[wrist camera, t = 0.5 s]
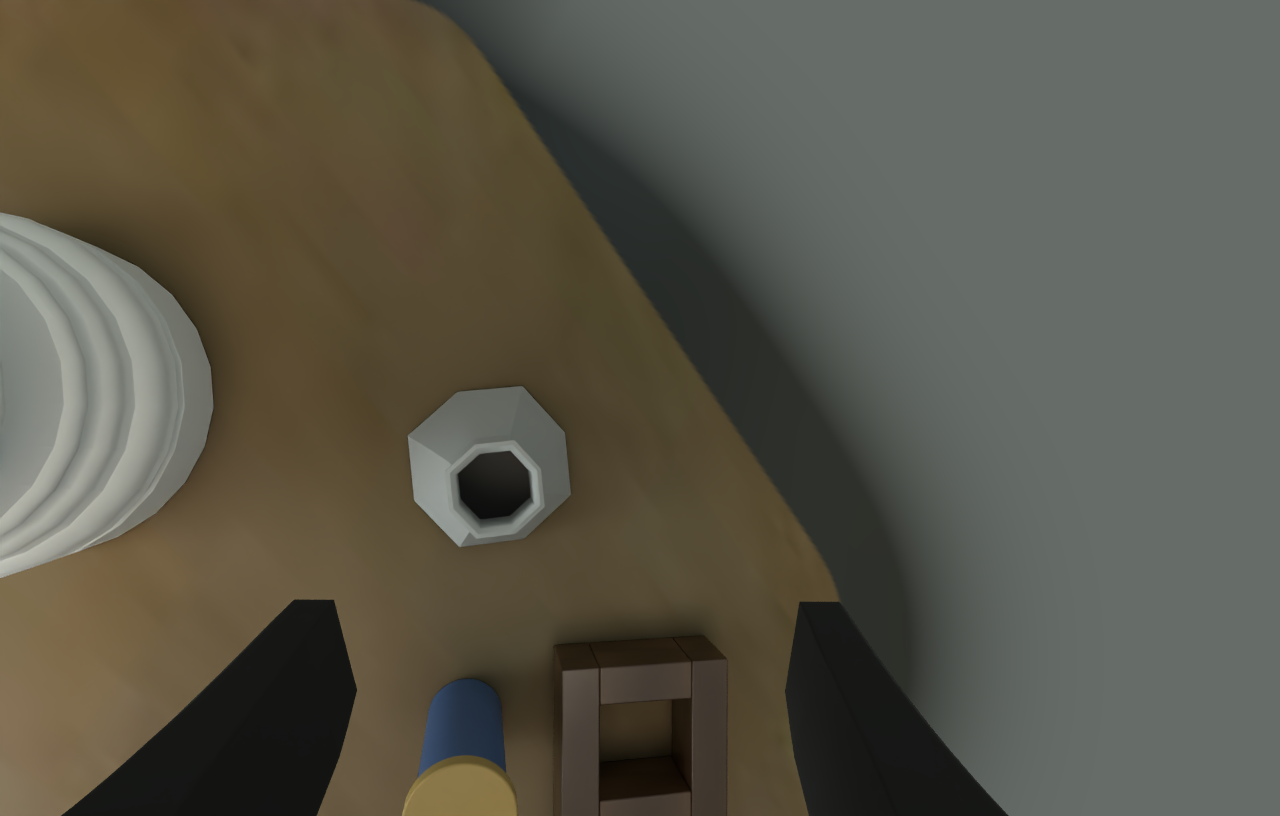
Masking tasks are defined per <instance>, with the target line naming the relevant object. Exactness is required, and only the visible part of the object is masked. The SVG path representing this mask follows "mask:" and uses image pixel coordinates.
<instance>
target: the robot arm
mask: <svg viewBox="0 0 1280 816" xmlns="http://www.w3.org/2000/svg"><path fill="white" fill-rule="evenodd" d="M356 692H357V688H356V684H355V680H354V677H353V673H352V669H351V665H350V661H349V657H348V653H347V649H346V645H345V641H344V638H343V634H342V630H341V626H340V622H339V618H338V614H337V610H336V606H335V603H334V600H293V601H292V602H291V603H290V604H289V605H288V606H287V607H286V608H285V609H284V610H283V611H282V612H281V613H280V614H279V615H278V616H277V617H276V618H275V619H274V620H273V621H272V622H271V623H270V624H269V625H268V626H267V627H266V628H265V629H264V630H263V631H262V632H261V633H260V634H259V635H258V636H257V637H256V638H255V639H254V640H253V641H252V642H251V643H250V644H249V645H248V646H247V647H246V648H245V649H244V650H243V651H242V652H241V653H240V654H239V655H238V656H237V657H236V658H235V659H234V660H233V661H232V662H231V663H230V664H229V665H228V666H227V667H226V668H225V669H224V670H223V671H222V672H221V673H220V674H219V675H218V676H217V677H216V678H215V679H214V680H213V681H212V682H211V683H210V684H209V685H208V686H207V687H206V688H205V689H204V690H203V691H202V692H201V693H199V694H198V695H197V696H196V697H195V698H194V699H193V700H192V701H191V702H190V703H189V704H188V705H187V706H186V707H185V708H184V709H183V710H182V711H181V712H180V713H179V714H178V715H177V716H176V717H175V718H173V719H172V720H171V721H170V722H169V723H168V724H167V725H166V726H165V727H164V728H163V729H162V730H160V731H159V732H158V733H157V734H156V735H155V736H154V737H153V738H152V739H150V740H149V741H148V742H147V743H146V744H145V745H144V746H143V747H142V748H140V749H139V750H138V751H137V752H136V753H135V754H134V755H133V756H132V757H130V758H129V759H128V760H127V761H126V762H125V763H124V764H123V765H122V766H120V767H119V768H118V769H117V770H116V771H115V772H114V773H112V774H111V775H110V776H109V777H108V778H107V779H105V780H104V781H103V782H102V783H101V784H99V785H98V786H97V787H96V788H95V789H94V790H92V791H91V792H90V793H89V794H88V795H86V796H85V797H84V798H83V799H82V800H80V801H79V802H78V803H77V804H75V805H74V806H73V807H72V808H70V809H69V810H68V811H67V812H65V813H64V814H63V815H62V816H317V813H318V811H319V808H320V806H321V803H322V800H323V798H324V795H325V793H326V790H327V788H328V785H329V783H330V780H331V777H332V775H333V772H334V770H335V767H336V764H337V762H338V759H339V756H340V753H341V749H342V746H343V742H344V739H345V735H346V731H347V728H348V724H349V720H350V716H351V712H352V708H353V704H354V700H355V696H356ZM785 694H786V701H787V709H788V716H789V724H790V731H791V737H792V744H793V751H794V757H795V761H796V765H797V769H798V773H799V777H800V781H801V785H802V789H803V793H804V797H805V801H806V805H807V809H808V813H809V816H1008V815H1007V814H1006V813H1005V812H1004V811H1003V810H1002V808H1001V807H1000V806H999V805H998V804H997V803H996V802H995V801H994V800H993V799H992V798H991V796H990V795H989V794H988V793H987V792H986V791H985V790H984V789H983V788H982V787H981V786H980V784H979V783H978V782H977V781H976V780H975V779H974V778H973V776H972V775H971V774H970V773H969V772H968V771H967V769H966V768H965V767H964V766H963V765H962V764H961V763H960V761H959V760H958V759H957V758H956V757H955V756H954V755H953V753H952V752H951V751H950V750H949V749H948V747H947V746H946V745H945V744H944V742H943V741H942V740H941V739H940V738H939V736H938V735H937V734H936V733H935V731H934V730H933V729H932V728H931V727H930V725H929V724H928V723H927V721H926V720H925V719H924V718H923V716H922V715H921V714H920V712H919V711H918V710H917V709H916V707H915V706H914V705H913V703H912V702H911V701H910V700H909V698H908V697H907V696H906V694H905V693H904V692H903V691H902V689H901V688H900V686H899V685H898V684H897V683H896V681H895V680H894V679H893V677H892V676H891V674H890V673H889V672H888V670H887V669H886V667H885V666H884V665H883V663H882V662H881V660H880V659H879V658H878V656H877V655H876V654H875V652H874V651H873V649H872V648H871V646H870V645H869V643H868V642H867V640H866V639H865V638H864V636H863V635H862V633H861V632H860V630H859V629H858V627H857V626H856V624H855V623H854V621H853V620H852V618H851V617H850V615H849V614H848V612H847V611H846V609H845V608H844V607H843V606H842V605H841V604H840V603H839V602H800V603H799V609H798V615H797V621H796V627H795V634H794V640H793V646H792V652H791V658H790V664H789V671H788V677H787V683H786V689H785Z"/></svg>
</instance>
